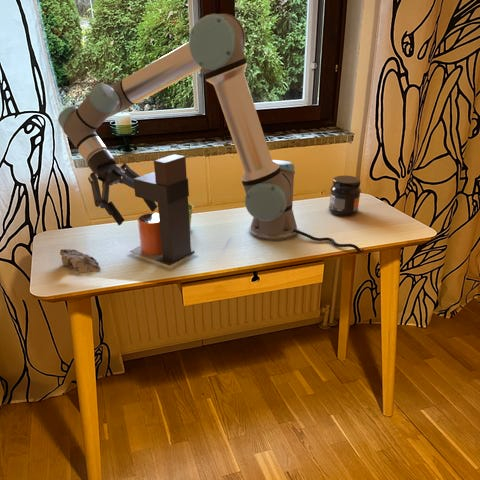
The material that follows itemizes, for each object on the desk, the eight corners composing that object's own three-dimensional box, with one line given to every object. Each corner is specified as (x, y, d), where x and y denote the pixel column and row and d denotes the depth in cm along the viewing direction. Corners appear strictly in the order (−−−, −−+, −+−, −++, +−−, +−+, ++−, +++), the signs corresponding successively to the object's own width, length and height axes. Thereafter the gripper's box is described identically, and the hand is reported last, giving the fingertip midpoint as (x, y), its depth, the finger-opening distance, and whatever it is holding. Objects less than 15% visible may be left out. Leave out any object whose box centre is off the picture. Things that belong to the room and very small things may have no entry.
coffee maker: (129, 255, 152) (116, 154, 136) (155, 243, 160) (145, 146, 144) (169, 270, 144) (160, 164, 128) (194, 256, 151) (189, 155, 135)
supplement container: (362, 210, 184) (366, 177, 178) (351, 219, 177) (355, 185, 170) (335, 205, 189) (338, 173, 182) (323, 213, 181) (326, 180, 175)
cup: (172, 245, 155) (169, 213, 150) (163, 256, 148) (160, 224, 143) (147, 242, 156) (143, 211, 151) (137, 253, 150) (133, 221, 144)
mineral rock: (105, 273, 142) (103, 259, 140) (78, 281, 138) (75, 266, 136) (85, 255, 152) (83, 242, 150) (59, 262, 148) (56, 248, 146)
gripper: (123, 155, 161) (162, 210, 161) (58, 174, 144) (101, 235, 144) (133, 140, 155) (173, 197, 156) (66, 158, 138) (111, 222, 139)
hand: (138, 215), depth 150 cm, fingers open, 13 cm apart
